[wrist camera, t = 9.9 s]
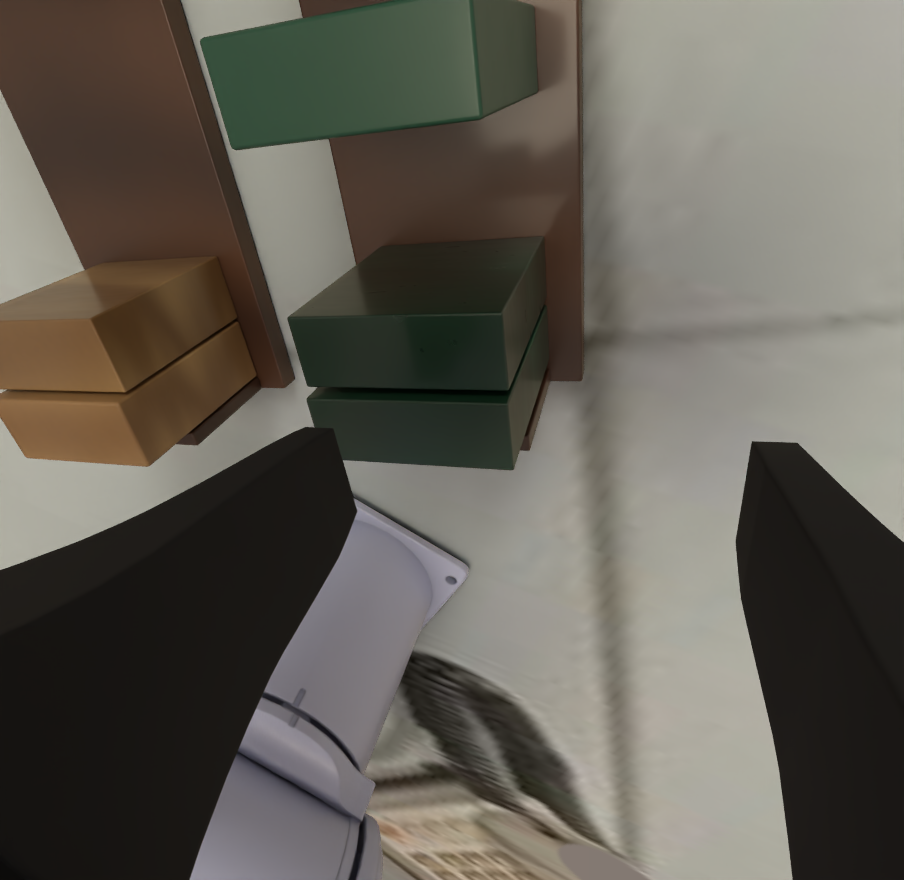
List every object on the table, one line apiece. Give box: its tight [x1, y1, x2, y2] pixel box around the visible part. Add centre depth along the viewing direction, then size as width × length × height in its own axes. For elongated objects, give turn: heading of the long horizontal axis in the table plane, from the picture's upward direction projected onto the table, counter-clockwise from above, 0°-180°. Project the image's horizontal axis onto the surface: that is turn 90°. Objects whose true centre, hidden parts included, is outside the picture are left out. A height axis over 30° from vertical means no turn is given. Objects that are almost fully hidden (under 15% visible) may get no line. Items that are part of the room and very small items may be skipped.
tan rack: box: [0, 0, 295, 467], centre depth 17 cm, size 16×7×7 cm, turn 7°
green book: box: [200, 0, 538, 150], centre depth 12 cm, size 2×5×6 cm, turn 97°
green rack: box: [288, 0, 584, 470], centre depth 13 cm, size 16×7×7 cm, turn 7°
